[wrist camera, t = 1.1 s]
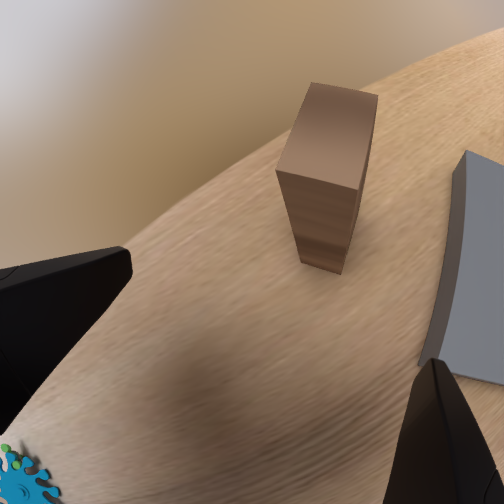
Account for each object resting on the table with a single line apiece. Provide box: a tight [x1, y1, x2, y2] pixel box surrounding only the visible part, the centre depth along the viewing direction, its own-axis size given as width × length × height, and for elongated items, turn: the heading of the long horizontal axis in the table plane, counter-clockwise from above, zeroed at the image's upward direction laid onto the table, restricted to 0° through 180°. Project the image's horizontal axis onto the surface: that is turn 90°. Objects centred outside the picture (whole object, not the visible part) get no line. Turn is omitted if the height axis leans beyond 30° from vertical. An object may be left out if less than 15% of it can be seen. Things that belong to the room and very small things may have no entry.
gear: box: [0, 444, 59, 504], centre depth 18 cm, size 11×6×10 cm
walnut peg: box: [275, 82, 378, 275], centre depth 16 cm, size 5×3×12 cm, turn 158°
